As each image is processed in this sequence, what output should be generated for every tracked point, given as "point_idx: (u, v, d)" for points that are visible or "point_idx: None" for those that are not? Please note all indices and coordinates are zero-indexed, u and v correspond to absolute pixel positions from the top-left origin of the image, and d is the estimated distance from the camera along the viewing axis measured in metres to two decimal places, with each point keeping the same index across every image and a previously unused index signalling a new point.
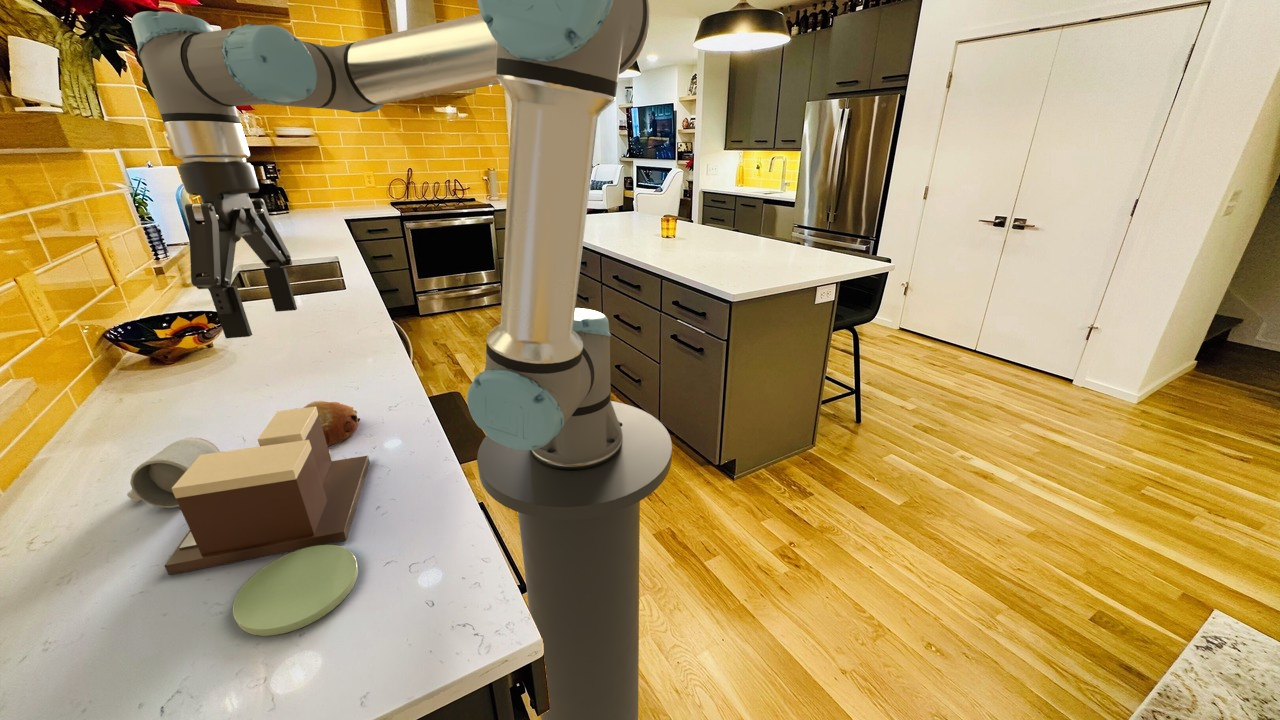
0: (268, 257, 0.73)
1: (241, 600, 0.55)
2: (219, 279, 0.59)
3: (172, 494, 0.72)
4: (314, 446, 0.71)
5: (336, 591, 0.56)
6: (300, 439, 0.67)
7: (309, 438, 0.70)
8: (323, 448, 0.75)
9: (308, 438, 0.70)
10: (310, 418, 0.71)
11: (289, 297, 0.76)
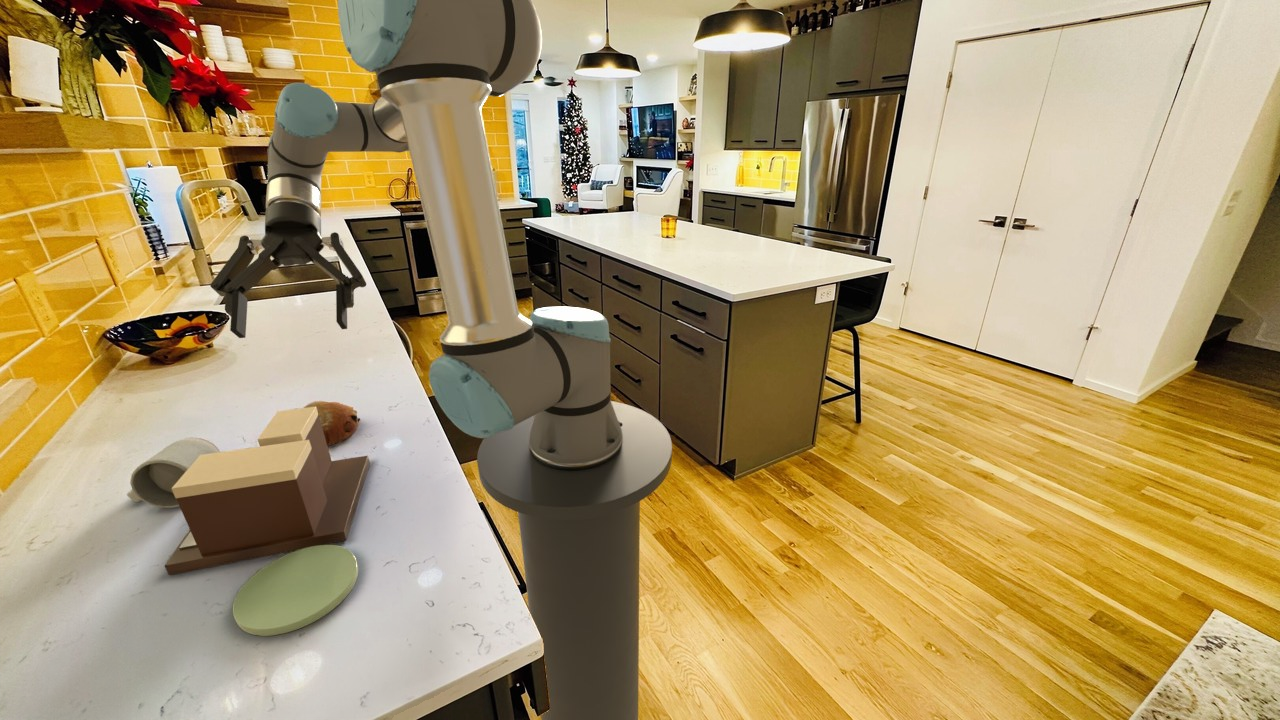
0: (336, 279, 0.80)
1: (241, 600, 0.55)
2: (216, 284, 0.74)
3: (172, 494, 0.72)
4: (314, 446, 0.71)
5: (336, 591, 0.56)
6: (300, 439, 0.67)
7: (309, 438, 0.70)
8: (323, 448, 0.75)
9: (308, 438, 0.70)
10: (310, 418, 0.71)
11: None
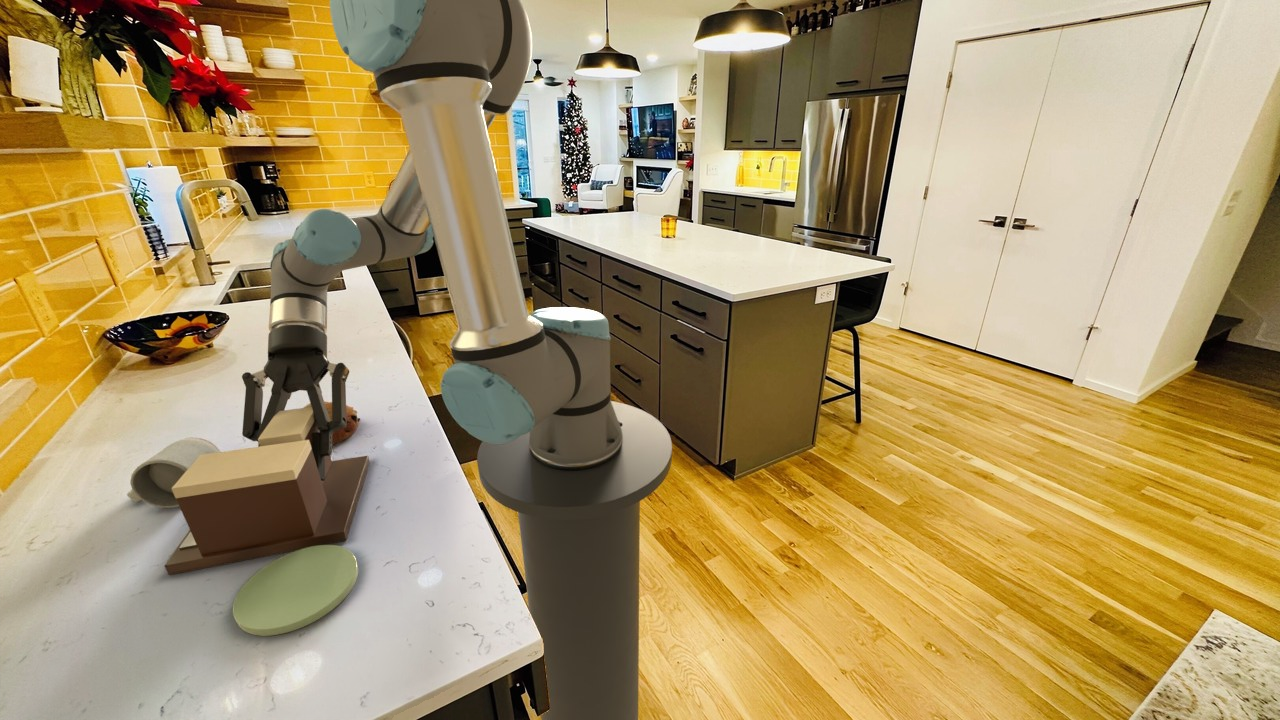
0: None
1: (241, 600, 0.55)
2: (248, 431, 0.70)
3: (172, 494, 0.72)
4: None
5: (336, 591, 0.56)
6: (300, 439, 0.67)
7: (309, 438, 0.70)
8: None
9: (308, 438, 0.70)
10: (310, 418, 0.71)
11: None
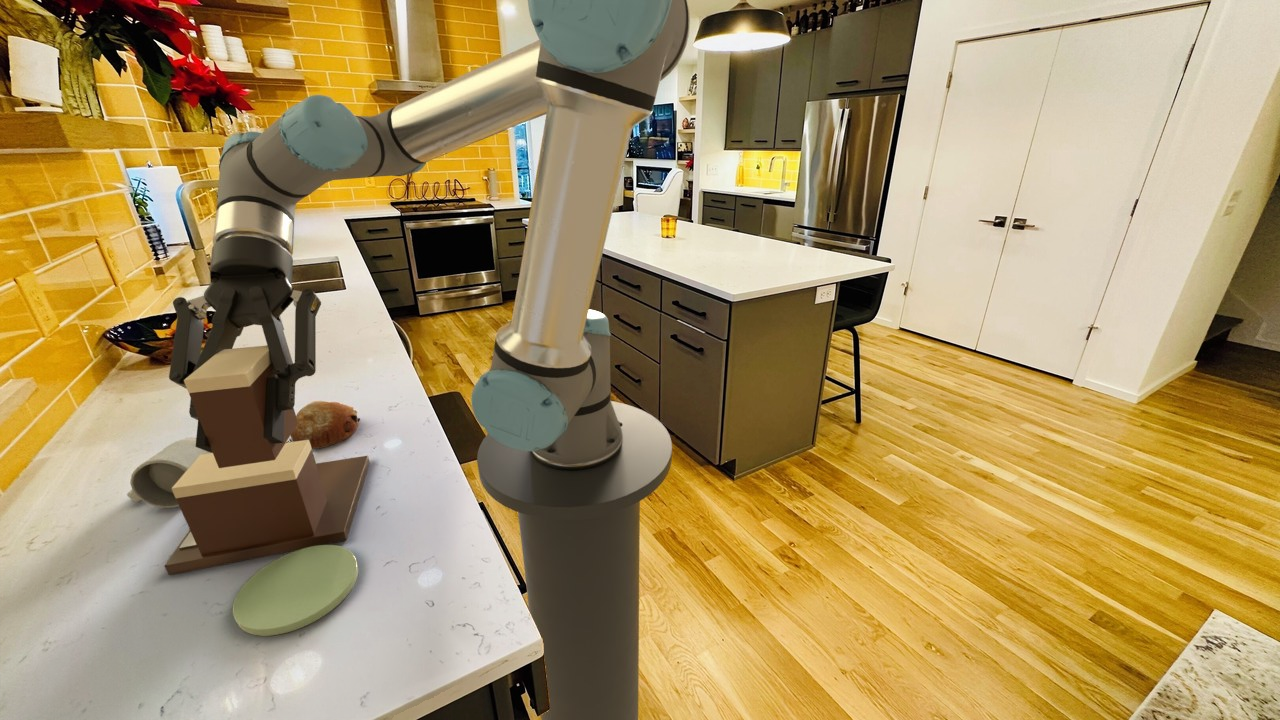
0: None
1: (241, 600, 0.55)
2: (177, 374, 0.51)
3: (172, 494, 0.72)
4: None
5: (336, 591, 0.56)
6: (245, 382, 0.48)
7: (261, 383, 0.51)
8: None
9: (259, 383, 0.51)
10: (264, 358, 0.52)
11: None
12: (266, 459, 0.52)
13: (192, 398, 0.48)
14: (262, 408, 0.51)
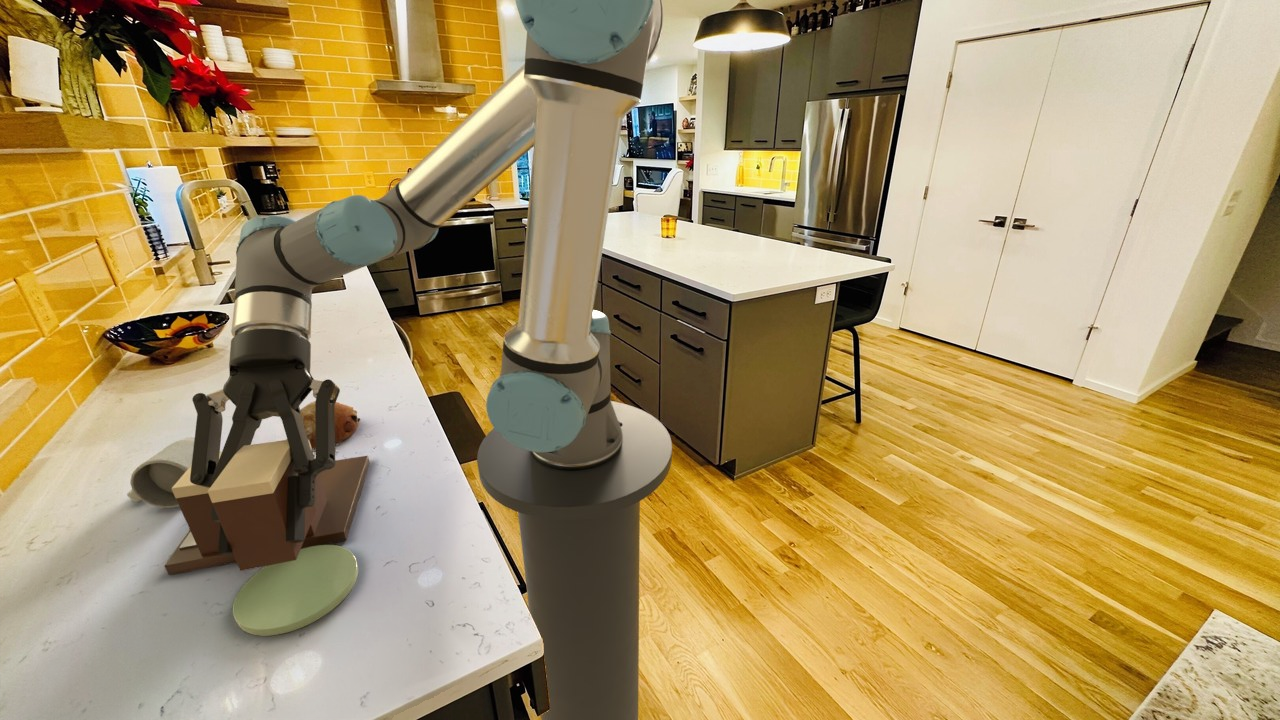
0: None
1: (241, 600, 0.55)
2: (198, 476, 0.50)
3: (172, 494, 0.72)
4: None
5: (336, 591, 0.56)
6: (269, 489, 0.48)
7: (283, 485, 0.51)
8: None
9: (281, 486, 0.51)
10: (285, 457, 0.52)
11: None
12: (287, 560, 0.52)
13: (215, 507, 0.47)
14: (284, 510, 0.51)
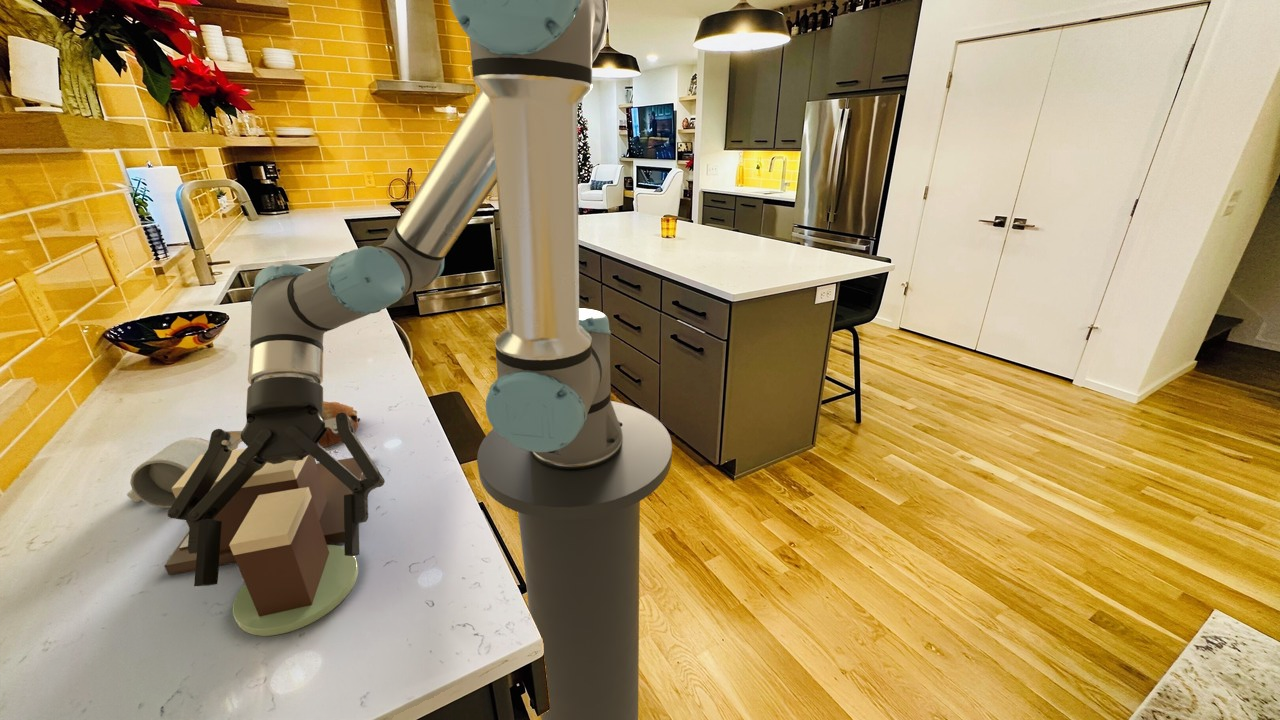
0: None
1: (241, 600, 0.55)
2: (176, 511, 0.52)
3: (172, 494, 0.72)
4: (306, 543, 0.55)
5: (336, 591, 0.56)
6: (287, 541, 0.51)
7: (299, 535, 0.53)
8: (318, 539, 0.58)
9: (298, 535, 0.53)
10: (301, 506, 0.55)
11: None
12: (304, 605, 0.54)
13: (236, 559, 0.50)
14: (301, 559, 0.53)
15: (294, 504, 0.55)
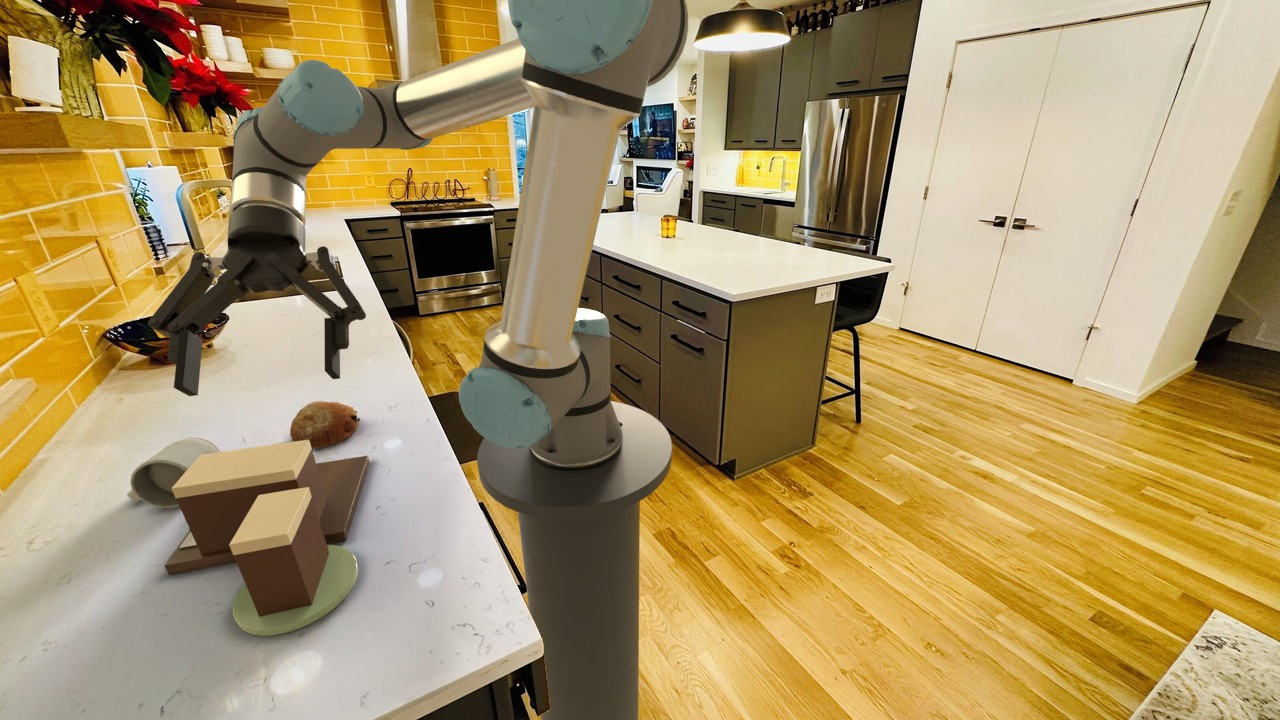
0: (325, 310, 0.59)
1: (241, 600, 0.55)
2: (156, 321, 0.53)
3: (172, 494, 0.72)
4: (306, 543, 0.55)
5: (336, 591, 0.56)
6: (287, 541, 0.51)
7: (299, 535, 0.53)
8: (318, 539, 0.58)
9: (298, 535, 0.53)
10: (301, 506, 0.55)
11: (325, 354, 0.56)
12: (304, 605, 0.54)
13: (236, 559, 0.50)
14: (301, 559, 0.53)
15: (294, 504, 0.55)
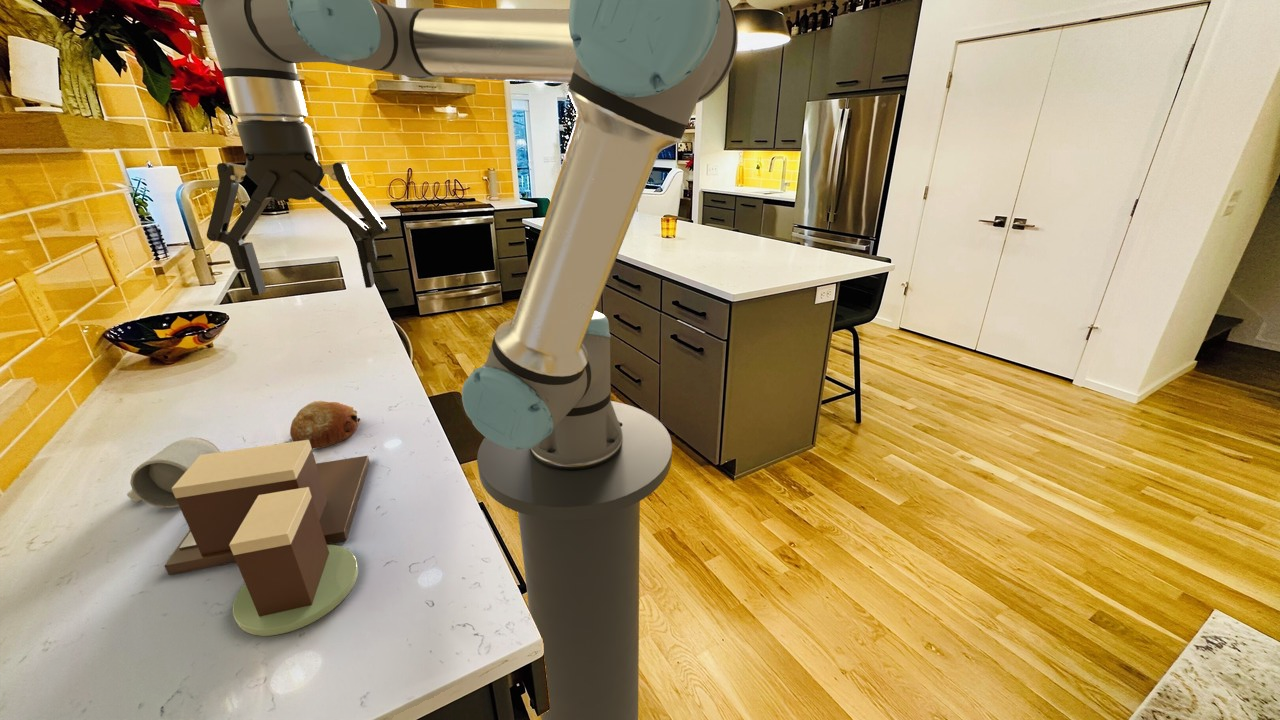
0: None
1: (241, 600, 0.55)
2: (213, 236, 0.63)
3: (172, 494, 0.72)
4: (306, 543, 0.55)
5: (336, 591, 0.56)
6: (287, 541, 0.51)
7: (299, 535, 0.53)
8: (318, 539, 0.58)
9: (298, 535, 0.53)
10: (301, 506, 0.55)
11: None
12: (304, 605, 0.54)
13: (236, 559, 0.50)
14: (301, 559, 0.53)
15: (294, 504, 0.55)
